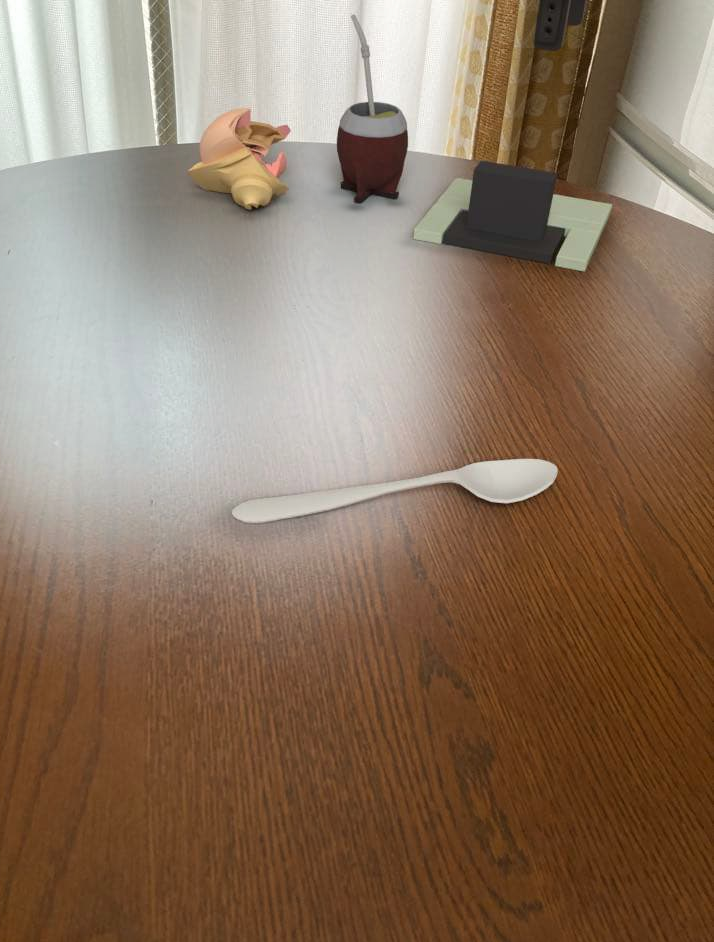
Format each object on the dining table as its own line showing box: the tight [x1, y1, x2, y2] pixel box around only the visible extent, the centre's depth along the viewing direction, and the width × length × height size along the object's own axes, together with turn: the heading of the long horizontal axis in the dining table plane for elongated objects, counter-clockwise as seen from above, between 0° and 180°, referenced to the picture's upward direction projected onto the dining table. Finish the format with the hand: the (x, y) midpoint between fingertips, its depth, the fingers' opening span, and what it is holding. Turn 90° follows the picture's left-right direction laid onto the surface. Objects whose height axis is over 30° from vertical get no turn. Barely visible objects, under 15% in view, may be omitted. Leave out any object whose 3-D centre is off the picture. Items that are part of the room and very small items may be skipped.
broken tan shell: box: [187, 107, 292, 210], centre depth 90 cm, size 9×10×10 cm
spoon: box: [231, 458, 559, 524], centre depth 57 cm, size 4×21×2 cm, turn 99°
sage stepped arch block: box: [412, 177, 613, 272], centre depth 88 cm, size 16×14×1 cm
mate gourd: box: [336, 14, 409, 204], centre depth 89 cm, size 8×8×15 cm
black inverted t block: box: [443, 160, 565, 265], centre depth 85 cm, size 10×8×6 cm
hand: (558, 35), depth 75 cm, fingers open, 8 cm apart
